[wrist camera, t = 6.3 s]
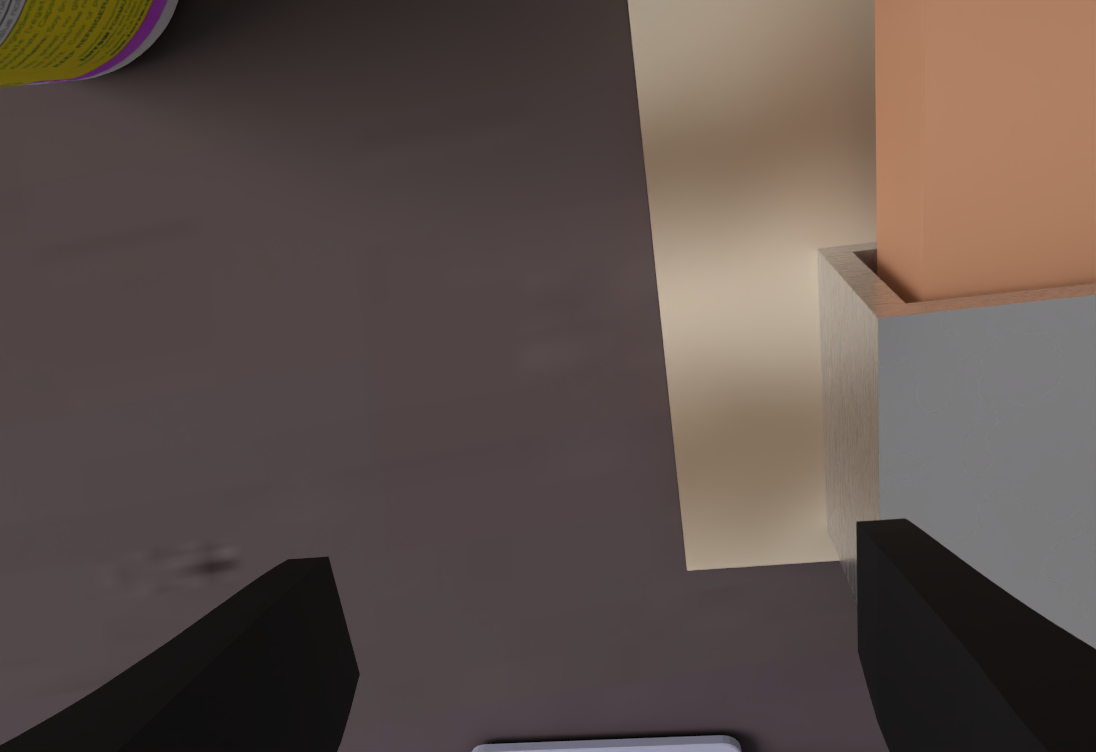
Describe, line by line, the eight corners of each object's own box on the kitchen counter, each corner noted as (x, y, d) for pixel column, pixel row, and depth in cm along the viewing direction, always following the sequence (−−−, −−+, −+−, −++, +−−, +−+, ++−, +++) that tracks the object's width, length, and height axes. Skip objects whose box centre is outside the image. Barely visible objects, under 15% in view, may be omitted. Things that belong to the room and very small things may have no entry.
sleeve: (1043, 510, 20) (1165, 651, 15) (826, 526, 21) (881, 665, 16) (1063, 219, 18) (1216, 281, 13) (816, 248, 18) (877, 318, 14)
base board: (1179, 518, 21) (1200, 536, 20) (685, 553, 22) (687, 570, 22) (1312, -473, 14) (1350, -503, 13) (595, -315, 16) (592, -333, 15)
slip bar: (1025, 373, 18) (1210, 529, 12) (878, 387, 18) (988, 544, 13) (1064, -313, 14) (1375, -574, 8) (872, -275, 14) (1032, -493, 8)
